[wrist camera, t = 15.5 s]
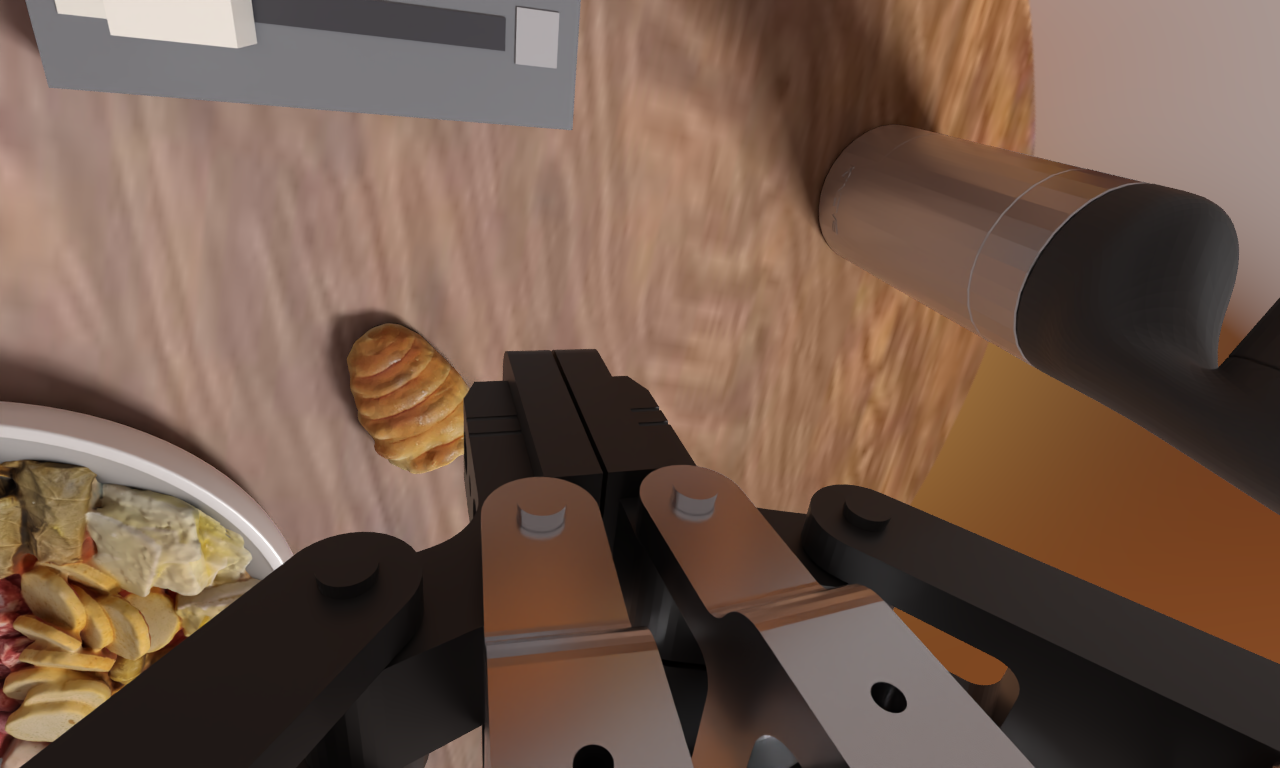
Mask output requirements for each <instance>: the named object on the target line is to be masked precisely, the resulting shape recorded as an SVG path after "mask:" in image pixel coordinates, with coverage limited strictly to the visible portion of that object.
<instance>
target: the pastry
mask: <svg viewBox="0 0 1280 768" xmlns="http://www.w3.org/2000/svg"><path fill="white" fill-rule="evenodd" d="M347 364H348V369H349V373H350V387H351V392H352V394H353V396H354V398H355V403H356V407H357V409H358V420H359V422H360V423H361V425H362V426H363V427H364V428H365V429H366V430H367V431H368V432H369V434H370V435H371V436H372V437H373V439H374V441H375V445H374V447H375V450H376V452H377V453H378V454H379V455H381V456H382V457H384V458H386V459H388V461H389V462H390V463H391V464H393V465H395V466H398V467H399V468H401V469H403V470H408V471H409V472H410V473H415V474H420V473H425V472H428V471H432V470H435V469H438V468H440V467H442V466H445V465H448V464H450V463H451V462H452V461H454V460H455V459H456V458H457V457H458V456H460V455H462V454H464V413H463V399H464V397H465V396H466V394H467V393H468V391H469V390H470V389H469V387H468V386H467V384H466V383H465V382H464V381H463V379H462V378H461V376H460V375H459V373H458V372H457V371H456V370H455V369H454V368H453V367H452V366H451V365H450V364H449V363H448V362H447V361H446V360H445V359H444V358H443V357H442V356H441V355H440V354H439V353H438V352H437V351H436V350H435V349H434V348H433V347H432V346H431V345H430V344H429V343H428V342H427V341H426V340H425V339H424V338H422V337H421V336H420V335H419V334H417V333H416V332H414V331H411V330H409V329H408V328H406V327H404V326H402V325H399V324H392V323H386V324H383V325H380V326H376V327H374V328H372V329H370V330H368V331H367V332H366V333H365V334H364V335H363V336H362V337H360V338H359V339H358V340H356V342H355V343H354V345H353V347H352V349H351V351H350V353H349V355H348V357H347Z"/></svg>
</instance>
